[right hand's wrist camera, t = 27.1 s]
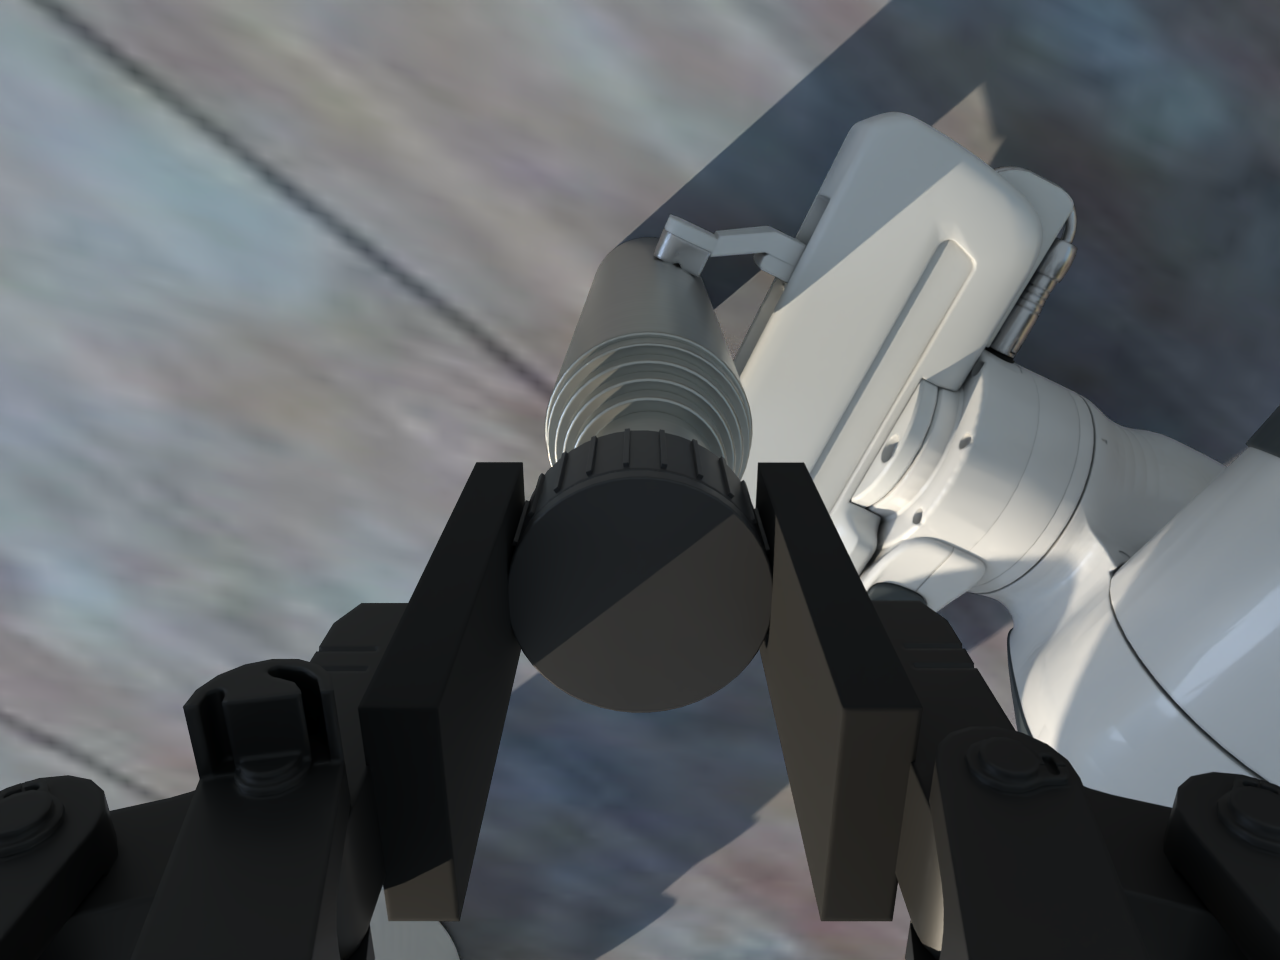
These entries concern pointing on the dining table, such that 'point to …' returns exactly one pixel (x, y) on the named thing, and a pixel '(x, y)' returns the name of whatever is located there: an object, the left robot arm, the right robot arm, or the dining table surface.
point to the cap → (640, 573)
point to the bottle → (649, 362)
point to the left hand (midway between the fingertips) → (625, 314)
